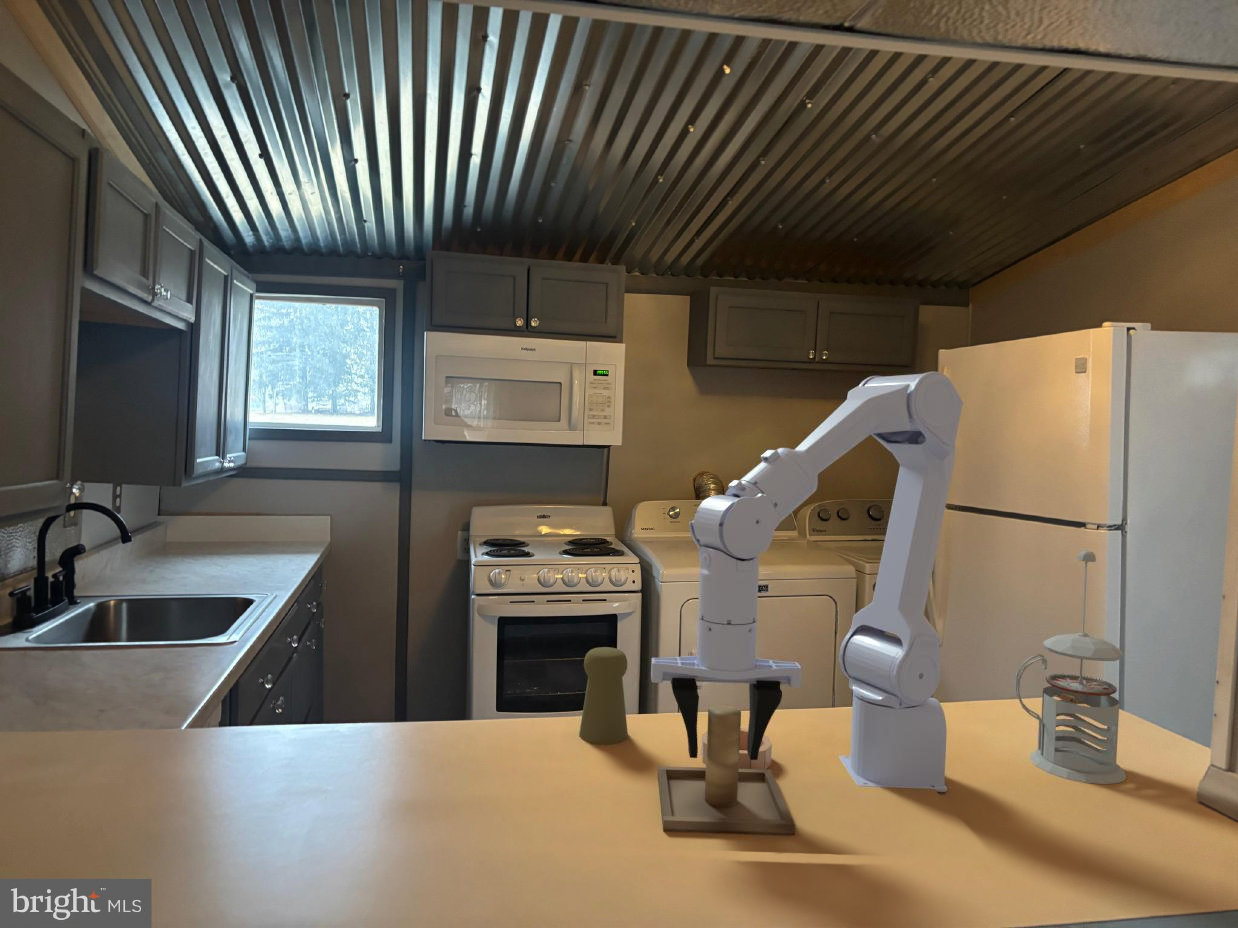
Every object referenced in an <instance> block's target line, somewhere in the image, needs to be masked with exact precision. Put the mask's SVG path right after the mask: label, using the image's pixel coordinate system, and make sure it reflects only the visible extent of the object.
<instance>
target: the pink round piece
mask: <svg viewBox="0 0 1238 928" xmlns="http://www.w3.org/2000/svg"><path fill="white" fill-rule="evenodd" d="M747 738H748V728H743V727H740V750H739V769H766V770H768V768H769V767H770V766H771V765H772V748H773V744H772V741H771V739H770V737H769V736H766V734H764V736H763V739H762V742H761V745H760V749H759V753H758V759H757V760H750V757H749V755H748V752H747ZM700 742H701V744H700V745H701V746H700V756H701V760H702V762H703V763H704V764H705V765H706V753H707V731H705V732H704V733H703V734H702V735H701V741H700Z"/></svg>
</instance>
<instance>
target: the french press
mask: <svg viewBox="0 0 1238 928" xmlns="http://www.w3.org/2000/svg"><path fill="white" fill-rule="evenodd" d="M1077 561H1079V562H1084V563H1085V564H1084V580H1083V581H1084V582H1083V583H1084V584H1083V585H1084V586H1083V600H1082V603H1083V605H1082V606H1083V607H1082V620H1081V621H1082V624H1081V625H1082V627H1081V632H1078V633H1077V632H1076V633H1066V634H1059V635H1054V636H1052V637H1050V638H1048V639H1046V640H1045V639H1044V641H1043V644H1042V645H1043V647H1044V649H1046V650H1047V651H1048V652H1050V653H1053V654H1055V655H1058V656H1059V655H1060V656H1063V657H1069V658H1073V659H1080V663H1079V664H1080V665H1079V674H1076V673H1064V672H1063V673H1052V674H1049V675H1047V676H1046V677H1045V681H1046V682H1047V684H1048V685H1049V686H1045V687H1044V688H1042V701H1041V702H1042V703H1041V716H1040V714H1038V713H1037V712H1035V711H1034V710H1031V709H1030V708H1028V707H1027V705H1026V704H1025V703H1024V702H1023V700H1022V696H1021V693H1020V685H1021V679H1022V677H1023V675H1024V672H1025V671H1026V669H1028V667H1030V666H1031V665H1032V664H1034V663H1036V662H1038V661H1041V666H1042V668H1043V669H1044V670H1047V667H1048V660H1047V659H1046V658H1045V656H1044V655H1043V654H1040V653H1039V654H1035V655H1032V656H1030V657H1027V658H1026V659H1025V660H1024V661H1022V663H1021V664H1020V665H1019V667H1018V669H1017V671H1016V673H1015V679H1014V682H1015V683H1014V689H1015V693H1016V697H1017V699H1018V701H1019V703H1020V706H1021V707H1022V709H1023V710H1024V711H1025V712H1026V713H1027V714H1028V715H1029V716H1031V717H1033V718H1035V719H1036V720H1038V732H1037V733H1038V734H1037V735H1038V736H1037V749H1035V750H1034V751H1032V752H1031V753H1030V755H1029V761H1031V762H1032V764H1034V766H1035V767H1037V768H1040V769H1041V770H1043V771H1045V772H1046V773H1049V774H1052V775H1055V776H1058V777H1060V778H1064V779H1065V780H1072V781H1076V782H1082V783H1086V784H1099V785H1110V784H1111V785H1112V784H1119V783H1121V782H1123V781H1124V780H1126V779H1127V776H1126V771H1125V770H1124V769H1123V768H1122V767H1121V766H1120V765H1119V764H1118V763H1117V759H1118V758H1117V756H1118V754H1117V753H1118V738H1119V734H1118V733H1119V721H1120V720H1119V718H1120V717H1119V715H1120V702H1119V701H1120V700H1119V699H1117V698H1115V697H1114V696H1112V695H1114V694H1116V693H1117V692H1118V689H1117V686H1115V685H1113V684H1112V683H1111V682H1109V681H1106V680H1103V679H1101V678H1099V679H1098V678H1095V677H1092V676H1090V677H1089V676H1088V675H1087V676H1086V675H1083V663H1084V662H1083V661H1084V660H1086V661H1095V662H1097V661H1098V662H1116V661H1119V660H1122V659H1123V657H1124V651H1122V650H1121V649H1120V648H1118V647H1117V646H1116V645H1114V644H1113V643H1112V642H1110V641H1108V640H1105V639H1103V638H1100V637H1098V636H1094V635H1089V634H1088V633H1086V632H1085V617H1086V597H1087V596H1086V595H1087V576H1088V575H1087V574H1088V572H1087V571H1088V563H1096V561H1097V557H1096V554H1095V553H1094V552H1093V551H1090V550H1082V551H1080V552H1079V553H1078V555H1077ZM1038 657H1039V658H1038ZM1035 658H1036V659H1035ZM1032 659H1034V660H1032ZM1060 695H1066V696H1070V697H1073V698H1075V699H1076V700H1079V701H1080V702H1082V703H1083V704H1086V705H1079V704H1077V703H1075V702H1074V701H1071V700H1067V699H1064V698H1063V699H1056V698H1054V697H1055V696H1060ZM1060 716H1063V717H1066V718H1057V717H1060ZM1081 716H1082V717H1081ZM1083 717H1085V718H1088V719H1090V720H1092V721H1094V722H1096V723H1098V724H1100V725H1102V726H1103V727H1099V726H1097V725H1096V724H1094V723H1092V722H1090V721H1087V720H1086V719H1085V718H1083ZM1059 727H1064V728H1068V729H1056V728H1059ZM1104 727H1105V728H1104ZM1070 729H1072V730H1070ZM1086 730H1088V731H1090V732H1091V733H1094V734H1096V735H1098V736H1100V737H1098V736H1096V735H1094V734H1091V733H1090V732H1088V731H1086ZM1094 745H1095V746H1094Z"/></svg>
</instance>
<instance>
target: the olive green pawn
mask: <svg viewBox="0 0 1238 928" xmlns="http://www.w3.org/2000/svg"><path fill="white" fill-rule="evenodd" d="M583 667H584V672H585V674H586V675H587V682H586V690H585V696H584V702H583V709H582V714H581V715H582V716H581V720H580V722H581V723H580V727H579V734H578V735H579V738H580V739H581V740H582V741H584V742H586V743H589V744H593V745H600V746H601V745H602V746H603V745H604V746H607V745H616V744H620V743H624V742H625V741H627V739H628V738H629V734H628V723H627V722H628V721H627V713H626V703H625V693H624V691H625V690H624V682H623V677H624V676H625V674H626V673H627V671H628V658H627V655H626V653H625V652H624V651H622V650H621V649H620V648H615V647H609V646H602V647H594V648H591V649H590V650H589V651H588V652H587V653H586V654H585V657H584V661H583Z"/></svg>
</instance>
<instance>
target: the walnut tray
mask: <svg viewBox="0 0 1238 928" xmlns="http://www.w3.org/2000/svg"><path fill="white" fill-rule="evenodd" d="M705 778H706V767H701V766H700V767H699V766H695V767H694V766H670V765H669V766H667V765H666V766H665V765H657V785H658V794H659V802H660V812H661V821H662V822H661V823H662V832H664V833H665V832H668V833H669V832H670V833H671V832H673V833H694V834H695V833H702V834H726V835H727V834H728V835H729V834H731V835H732V834H733V835H735V834H736V835H763V836H789V837H790V836H795V831H796V828H795V827H796V824H795V821H794V820H793V817H792V815H791V812H790V810H789V808H788V806H787V803H786V801H785V798H784V796H783V794H782V792H781V790H780V787H779V785H778V783H777V780H776V778H775V776H774V774H773V771H772V769H739V772H738V795H737V804H736V805H735V806H733V807H730V808H718V807H714V806H711V805H709V804H708V803H706V801H705Z"/></svg>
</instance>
